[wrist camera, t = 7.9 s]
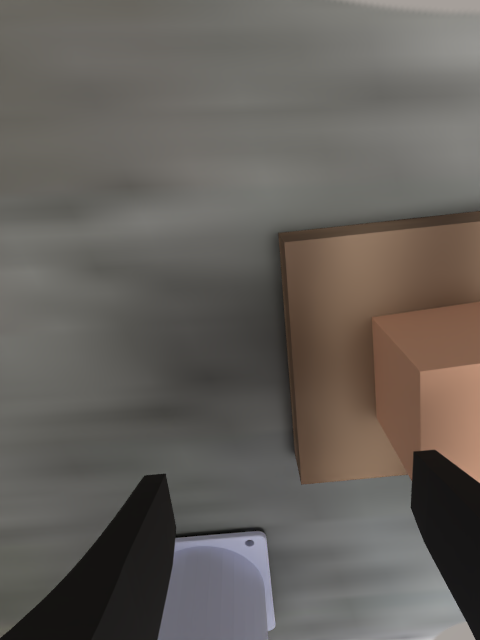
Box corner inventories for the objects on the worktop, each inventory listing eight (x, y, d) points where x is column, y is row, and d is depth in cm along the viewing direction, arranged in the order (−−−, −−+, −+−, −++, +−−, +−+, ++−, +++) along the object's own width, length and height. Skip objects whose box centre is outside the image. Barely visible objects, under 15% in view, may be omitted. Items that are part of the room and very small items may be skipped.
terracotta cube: (376, 417, 20) (420, 497, 15) (371, 317, 18) (420, 371, 13) (486, 402, 19) (566, 479, 15) (491, 299, 18) (584, 349, 13)
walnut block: (293, 446, 24) (301, 484, 21) (277, 231, 20) (284, 242, 17) (510, 425, 23) (547, 461, 21) (539, 202, 19) (591, 209, 16)
